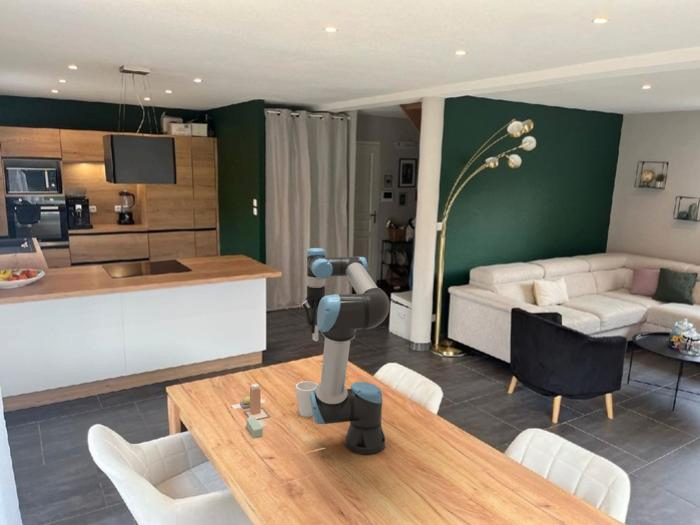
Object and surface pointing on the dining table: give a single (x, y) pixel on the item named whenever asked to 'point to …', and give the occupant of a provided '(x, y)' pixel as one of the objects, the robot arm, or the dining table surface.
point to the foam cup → (305, 397)
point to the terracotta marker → (255, 399)
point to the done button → (246, 399)
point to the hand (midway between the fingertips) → (315, 340)
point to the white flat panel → (249, 414)
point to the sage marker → (254, 427)
